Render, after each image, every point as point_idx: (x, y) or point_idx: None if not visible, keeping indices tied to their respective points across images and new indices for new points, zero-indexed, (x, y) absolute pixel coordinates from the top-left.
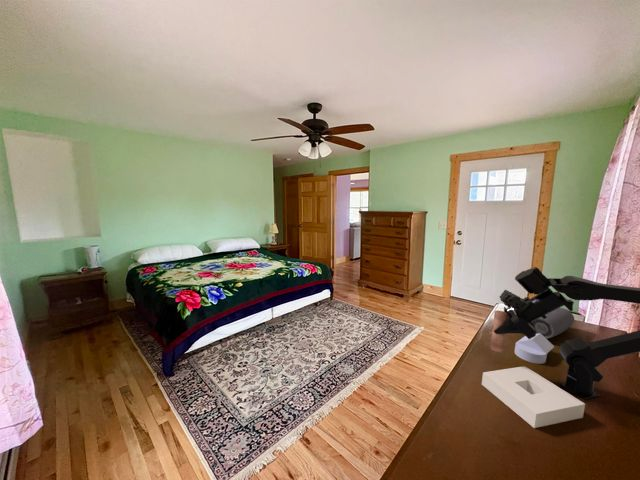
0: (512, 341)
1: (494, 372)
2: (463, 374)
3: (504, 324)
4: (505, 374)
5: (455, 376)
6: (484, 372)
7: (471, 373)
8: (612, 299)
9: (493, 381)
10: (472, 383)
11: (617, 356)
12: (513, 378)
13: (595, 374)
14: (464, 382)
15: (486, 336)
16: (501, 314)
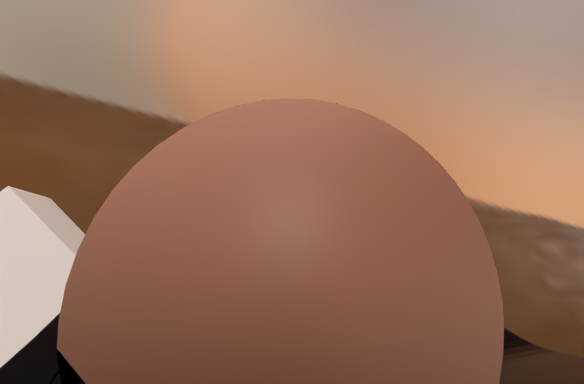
0: (531, 336)
1: (42, 244)
2: (97, 127)
3: (11, 359)
4: (52, 300)
5: (59, 95)
6: (13, 193)
7: (126, 160)
8: None
9: None
10: (36, 161)
11: None
12: (24, 342)
13: None
14: (26, 129)
15: (505, 230)
16: (94, 317)
